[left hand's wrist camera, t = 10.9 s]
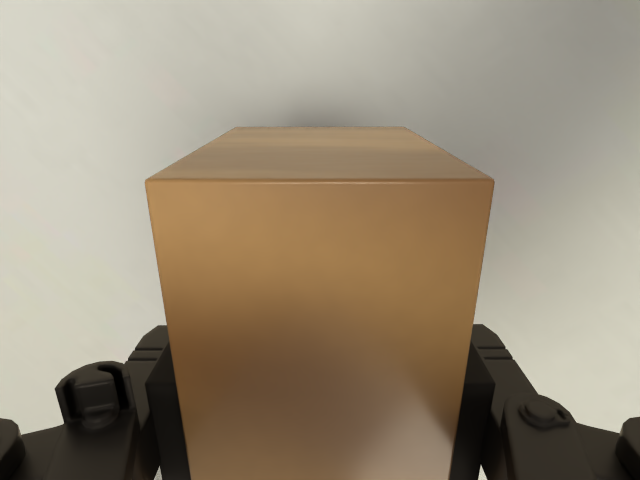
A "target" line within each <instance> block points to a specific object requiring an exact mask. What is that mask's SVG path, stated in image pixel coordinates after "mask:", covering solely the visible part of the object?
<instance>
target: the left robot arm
mask: <svg viewBox="0 0 640 480" xmlns="http://www.w3.org/2000/svg"><path fill="white" fill-rule="evenodd" d="M55 391H56V395H57V399H58V402H59V406H60V409H61V413H62V416H63V420H64V424H63V425H60V426H57V427H53V428H49V429H45V430H40V431H36V432H32V433H28V434H23V435H21V433H20V430H19V427H18V425H17V424H16V423H15V422H13V421H12V420H9V419H2V418H0V480H154V478H155V475H156V473H157V470H158V468H159V466H160V469H161V475H162V480H191V476H190V470H189V463H188V457H187V450H186V444H185V437H184V431H183V425H182V418H181V412H180V405H179V399H178V393H177V386H176V380H175V373H174V367H173V361H172V354H171V348H170V341H169V335H168V329H167V325H158V326H157V327H155V328H154V329H153V330H151V331H150V332H148V333H147V334H146V335H144V336H143V337H142V339H141V340H140V342H139V343H138V345H137V346H136V348H135V351H133V352H132V353H131V355H130V356H129V358H128V361H126V362H125V364H123V363H119V362H115V361H102V362H96V363H92V364H88V365H85V366H83V367H81V368H79V369H77V370H74V371H72V372H71V373H70V374H68V375H67V376H66V377H64V378H63V379H62V380H61V381H60V382H59V384H58V385H57V386H56V388H55ZM481 465H482V468H483V470H484V473H485V475H486V477H487V480H640V417H635V418H629V419H628V420H627V421H626V422H624V423H623V425H622V428H621V431H620V433H616V432H611V431H607V430H603V429H599V428H594V427H590V426H586V425H583V424H579V423H576V421H575V420H574V418H573V417H572V415H571V414H570V412H569V411H568V410H566V409H565V408H564V407H563V406H562V405H560V404H559V403H557V402H555V401H554V400H552V399H550V398H548V397H545V396H542V395H538V393H537V392H536V390H535V389H534V387H533V386H532V385H531V383H530V382H529V380H528V379H527V377H526V376H525V374H524V373H523V372H522V370H521V369H520V367H519V366H518V364H517V363H516V361H515V360H513V358H512V356H511V354H510V353H509V351H508V350H507V349H506V348H505V346H504V344H503V343H502V341H501V340H500V338H499V337H498V335H497V334H495V333H494V332H493V331H491V330H490V329H488V328H487V327H486V326H484V325H483V324H473V327H472V334H471V340H470V347H469V353H468V360H467V367H466V373H465V380H464V386H463V393H462V399H461V406H460V413H459V419H458V426H457V432H456V439H455V445H454V452H453V459H452V465H451V472H450V478H449V480H478V476H479V471H480V466H481Z"/></svg>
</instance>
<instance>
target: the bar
mask: <svg viewBox="0 0 640 480" xmlns="http://www.w3.org/2000/svg"><path fill="white" fill-rule="evenodd" d="M494 183H495V182H494V179H492V178H491V177H489V176H487V175H486V174H484V173H482V172H480V171H479V170H477V169H475V168H474V167H472V166H470V165H468V164H467V163H465V162H463V161H462V160H460V159H458V158H456V157H455V156H453V155H451V154H450V153H448V152H446V151H445V150H443V149H441V148H439V147H438V146H436V145H434V144H433V143H431V142H429V141H427V140H426V139H424V138H422V137H421V136H419V135H417V134H415V133H414V132H412V131H410V130H409V129H407V128H405V127H235V128H234V129H232V130H230V131H228V132H227V133H225V134H223V135H222V136H220V137H218V138H216V139H215V140H213V141H211V142H210V143H208V144H206V145H204V146H203V147H201V148H199V149H198V150H196V151H194V152H192V153H191V154H189V155H187V156H185V157H184V158H182V159H180V160H179V161H177V162H175V163H173V164H172V165H170V166H168V167H167V168H165V169H163V170H161V171H160V172H158V173H156V174H155V175H153V176H151V177H149V178H148V179H146V180H145V188H146V194H147V200H148V207H149V213H150V220H151V226H152V232H153V239H154V245H155V252H156V258H157V264H158V271H159V277H160V284H161V290H162V296H163V303H164V309H165V316H166V322H167V329H168V335H169V341H170V348H171V354H172V361H173V367H174V373H175V380H176V386H177V393H178V399H179V405H180V412H181V418H182V425H183V431H184V437H185V444H186V450H187V457H188V463H189V470H190V476H191V480H449V478H450V472H451V465H452V459H453V452H454V445H455V439H456V432H457V426H458V419H459V413H460V406H461V399H462V393H463V386H464V380H465V373H466V367H467V360H468V353H469V347H470V340H471V334H472V327H473V321H474V314H475V307H476V301H477V294H478V288H479V281H480V275H481V268H482V262H483V255H484V248H485V242H486V235H487V229H488V222H489V216H490V209H491V202H492V196H493V189H494Z"/></svg>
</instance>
